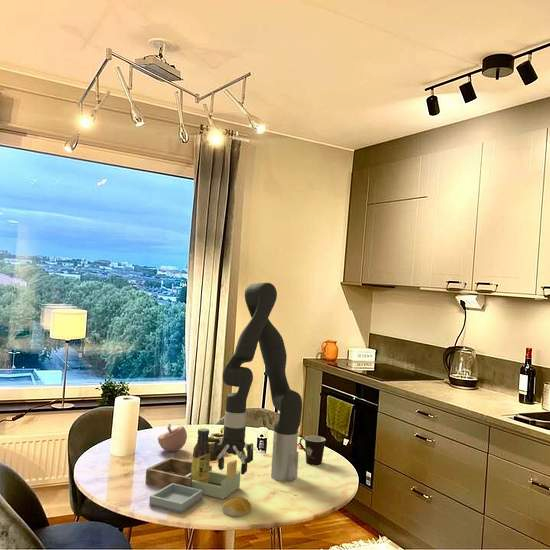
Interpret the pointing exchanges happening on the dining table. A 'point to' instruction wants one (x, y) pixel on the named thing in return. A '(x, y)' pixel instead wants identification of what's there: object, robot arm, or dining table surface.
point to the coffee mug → (314, 449)
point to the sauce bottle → (201, 457)
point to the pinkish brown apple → (173, 439)
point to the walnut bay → (163, 478)
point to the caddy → (220, 482)
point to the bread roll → (237, 507)
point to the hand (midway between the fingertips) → (232, 471)
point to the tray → (176, 498)
